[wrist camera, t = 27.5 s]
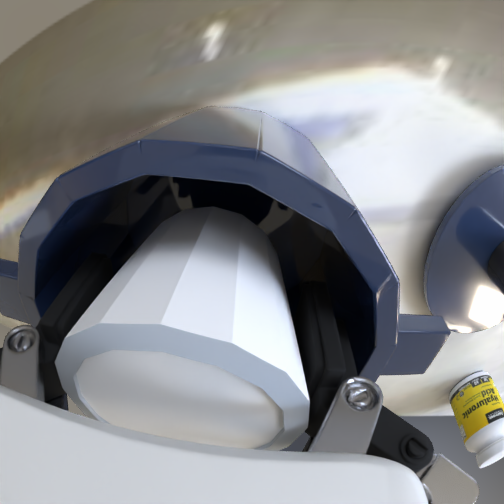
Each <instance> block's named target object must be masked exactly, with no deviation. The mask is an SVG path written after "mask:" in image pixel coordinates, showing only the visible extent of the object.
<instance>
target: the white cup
mask: <svg viewBox="0 0 504 504" xmlns="http://www.w3.org/2000/svg"><path fill="white" fill-rule="evenodd" d="M55 365H56V368H57V372H58V375H59V378H60V381H61V385H62V388H63V389H64V391H65V392H66V393H67V394H68V396H69V397H70V398H71V399H72V400H73V402H74V403H75V404H76V405H77V406H78V408H79V409H80V410H81V411H82V412H83V413H84V414H85V415H86V416H88V417H89V418H91V419H94V420H97V421H101V422H104V423H108V424H111V425H115V426H119V427H122V428H126V429H130V430H134V431H138V432H143V433H147V434H152V435H156V436H161V437H166V438H172V439H177V440H183V441H189V442H195V443H201V444H208V445H216V446H224V447H233V448H243V449H255V450H271V451H279V450H281V449H283V448H286V447H288V446H290V445H291V444H292V443H293V442H294V441H295V440H296V439H297V438H298V437H299V436H300V435H301V434H302V433H303V432H304V431H305V430H306V429H307V428H308V420H309V407H310V400H309V395H308V391H307V386H306V381H305V376H304V371H303V367H302V362H301V357H300V353H299V348H298V343H297V339H296V334H295V330H294V325H293V321H292V316H291V312H290V307H289V303H288V298H287V294H286V289H285V285H284V281H283V276H282V272H281V268H280V263H279V259H278V255H277V252H276V250H275V249H274V247H273V245H272V244H271V242H270V240H269V238H268V237H267V235H266V233H265V231H263V230H262V229H261V228H259V227H258V226H257V225H255V224H254V223H253V222H251V221H250V220H249V219H247V218H246V217H245V216H243V215H242V214H239V213H235V212H232V211H228V210H225V209H221V208H217V207H214V206H212V207H202V208H192V209H184V210H183V211H181V212H179V213H177V214H175V215H174V216H172V217H170V218H168V219H166V220H165V221H163V222H162V223H161V224H160V225H159V226H158V227H157V228H156V229H155V230H154V232H153V233H152V234H151V235H150V236H149V237H148V238H147V239H146V240H145V241H144V243H143V244H142V245H141V246H140V247H139V248H138V249H137V250H136V252H135V253H134V254H133V255H132V256H131V257H130V258H129V260H128V261H127V262H126V263H125V264H124V265H123V267H122V268H121V269H120V270H119V271H118V272H117V274H116V275H115V276H114V277H113V278H112V279H111V281H110V282H109V283H108V284H107V285H106V287H105V288H104V289H103V290H102V292H101V293H100V294H99V295H98V296H97V298H96V299H95V300H94V301H93V303H92V304H91V305H90V306H89V308H88V309H87V310H86V311H85V313H84V314H83V315H82V316H81V318H80V319H79V320H78V322H77V323H76V324H75V325H74V327H73V328H72V329H71V331H70V332H69V333H68V335H67V336H66V337H65V339H64V341H63V343H62V346H61V348H60V350H59V353H58V355H57V358H56V360H55Z"/></svg>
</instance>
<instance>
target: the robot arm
mask: <svg viewBox="0 0 504 504" xmlns="http://www.w3.org/2000/svg"><path fill="white" fill-rule="evenodd" d="M113 277H114V275H113V269H112V262H111V259H109V258H108V257H107V255H106V254H102V253H95V252H92V253H91V254H90V255H89V256H88V257H87V258H86V260H85V261H84V262H83V263H82V265H81V266H80V267H79V268H78V270H77V271H76V272H75V273H74V275H73V276H72V277H71V279H70V280H69V281H68V282H67V284H66V285H65V286H64V288H63V289H62V290H61V292H60V293H59V294H58V296H57V297H56V298H55V300H54V301H53V303H52V304H51V305H50V307H49V308H48V309H47V311H46V312H45V314H44V315H43V317H42V318H41V319H40V321H39V323H38V325H37V326H36V328H35V327H33V326H30V325H21V326H17V327H15V328H13V329H12V330H11V331H10V332H9V333H8V334H7V335H6V337H5V340H4V344H3V348H0V504H475V503H476V501H477V499H478V497H479V486H478V483H477V482H476V480H475V479H474V478H473V477H471V476H470V475H468V474H467V473H466V472H464V471H463V470H462V469H460V468H459V467H458V466H456V465H455V464H453V462H451V461H450V460H449V459H447V458H446V457H445V456H443V455H442V454H441V453H440V454H438V455H436V454H435V453H434V449H433V445H432V442H431V441H430V439H429V438H428V437H427V436H426V435H425V434H423V433H422V432H420V431H419V430H418V429H416V428H415V427H413V426H412V425H410V424H409V423H407V422H406V421H404V420H403V419H402V418H400V417H399V416H397V415H396V414H394V413H393V412H392V411H390V410H389V409H387V408H386V407H384V406H383V405H382V403H383V394H382V391H381V389H380V388H379V386H378V385H377V384H376V383H375V382H374V381H372V380H370V379H368V378H366V377H362V376H358V375H357V370H356V366H355V362H354V358H353V354H352V350H351V346H350V342H349V338H348V334H347V330H346V326H345V323H344V321H343V320H342V319H335V316H334V312H333V308H332V303H331V299H330V295H329V291H328V287H327V284H326V282H321V281H312V280H311V281H310V282H309V284H304V286H303V289H302V293H301V296H300V300H299V304H298V307H297V311H296V315H295V318H294V322H293V325H294V330H295V334H296V339H297V343H298V348H299V353H300V357H301V362H302V367H303V371H304V376H305V381H306V386H307V391H308V395H309V400H310V407H309V420H308V428H307V429H306V430H305V432H306V433H307V434H308V435H310V438H309V440H308V442H307V443H306V445H305V447H304V449H303V451H302V452H289V451H288V452H287V451H271V450H255V449H243V448H233V447H224V446H216V445H208V444H201V443H195V442H189V441H183V440H177V439H172V438H166V437H161V436H156V435H152V434H147V433H143V432H138V431H134V430H130V429H126V428H122V427H119V426H115V425H111V424H108V423H104V422H101V421H97V420H94V419H91V418H87V417H84V416H81V415H78V414H75V413H72V412H69V411H68V401H67V393H66V392H65V391H64V389H63V388H62V385H61V381H60V378H59V375H58V372H57V368H56V365H55V360H56V358H57V355H58V353H59V350H60V348H61V346H62V343H63V341H64V339H65V337H66V336H67V335H68V333H69V332H70V331H71V329H72V328H73V327H74V325H75V324H76V323H77V322H78V320H79V319H80V318H81V316H82V315H83V314H84V313H85V311H86V310H87V309H88V308H89V306H90V305H91V304H92V303H93V301H94V300H95V299H96V298H97V296H98V295H99V294H100V293H101V292H102V290H103V289H104V288H105V287H106V285H107V284H108V283H109V282H110V281H111V279H112V278H113Z"/></svg>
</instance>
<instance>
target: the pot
mask: <svg viewBox="0 0 504 504" xmlns="http://www.w3.org/2000/svg"><path fill="white" fill-rule="evenodd" d="M212 206H214V207H217V208H221V209H225V210H228V211H232V212H235V213H239V214H242V215H243V216H245V217H246V218H247V219H249V220H250V221H251V222H253V223H254V224H255V225H257V226H258V227H259V228H261V229H262V230H263V231H265V233H266V235H267V237H268V238H269V240H270V242H271V244H272V245H273V247H274V249H275V250H276V252H277V255H278V259H279V263H280V268H281V272H282V276H283V281H284V285H285V289H286V294H287V298H288V303H289V307H290V312H291V316H292V321H293V322H294V318H295V315H296V311H297V307H298V304H299V300H300V296H301V293H302V289H303V286H304V284H309V282H310V281H311V280H312V281H321V282H326V284H327V287H328V291H329V295H330V299H331V303H332V308H333V312H334V316H335V319H342V320H343V321H344V323H345V326H346V330H347V334H348V338H349V342H350V346H351V350H352V354H353V358H354V362H355V366H356V370H357V375H358V376H362V377H366V378H368V379H370V380H372V381H374V382H376V380H377V379H378V377H379V375H411V374H423V373H425V371H426V370H427V368H428V367H429V365H430V364H431V363H432V361H433V360H434V358H435V357H436V355H437V354H438V352H439V351H440V349H441V348H442V346H443V345H444V343H445V341H446V340H447V338H448V337H449V335H450V333H451V332H450V330H449V328H448V326H447V324H446V323H445V321H444V319H443V317H442V316H432V315H413V314H399V302H400V283H399V278H398V276H397V275H396V273H395V271H394V269H393V267H392V265H391V264H390V262H389V260H388V258H387V256H386V255H385V253H384V251H383V249H382V248H381V246H380V244H379V242H378V241H377V239H376V237H375V236H374V234H373V232H372V231H371V229H370V227H369V226H368V224H367V222H366V221H365V219H364V217H363V216H362V214H361V213H360V211H359V209H358V208H357V206H356V205H355V203H354V202H353V200H352V199H351V197H350V196H349V194H348V193H347V191H346V190H345V188H344V187H343V186H342V184H341V183H340V181H339V180H338V178H337V177H336V175H335V174H334V173H333V171H332V170H331V168H330V167H329V166H328V164H327V163H326V161H325V160H324V159H323V157H322V156H321V155H320V153H319V152H318V151H317V149H316V148H315V146H314V145H313V144H312V142H311V141H310V140H309V139H308V138H307V137H306V136H304V135H303V134H301V133H299V132H298V131H296V130H294V129H293V128H292V127H290V126H289V125H287V124H286V123H284V122H282V121H280V120H278V119H276V118H274V117H272V116H270V115H268V114H266V113H265V112H262V111H257V110H249V109H243V108H237V107H218V106H209V107H208V106H207V107H204V108H201V109H198V110H195V111H192V112H189V113H186V114H183V115H180V116H177V117H175V118H172V119H169V120H166V121H164V122H161V123H159V124H157V125H155V126H152V127H150V128H148V129H146V130H144V131H141V132H139V133H137V134H135V135H133V136H131V137H129V138H127V139H125V140H123V141H121V142H119V143H117V144H115V145H113V146H111V147H109V148H107V149H105V150H103V151H101V152H99V153H98V154H96V155H94V156H92V157H90V158H88V159H87V160H85V161H83V162H81V163H80V164H78V165H76V166H74V167H73V168H71V169H69V170H67V171H66V172H64V173H62V174H61V175H60V176H59V177H57V178H56V179H55V180H54V182H53V183H52V185H51V186H50V187H49V189H48V190H47V192H46V193H45V195H44V196H43V198H42V199H41V201H40V202H39V204H38V205H37V207H36V209H35V210H34V212H33V213H32V215H31V217H30V218H29V220H28V221H27V223H26V225H25V226H24V228H23V230H22V232H21V235H20V241H19V258H18V262H14V261H9V260H5V259H0V312H1V314H2V315H4V316H7V317H10V318H13V319H16V320H19V321H22V322H25V323H28V324H30V325H31V326H33V327H35V328H36V326H37V325H38V323H39V321H40V319H41V318H42V317H43V315H44V314H45V312H46V311H47V309H48V308H49V307H50V305H51V304H52V303H53V301H54V300H55V298H56V297H57V296H58V294H59V293H60V292H61V290H62V289H63V288H64V286H65V285H66V284H67V282H68V281H69V280H70V279H71V277H72V276H73V275H74V273H75V272H76V271H77V270H78V268H79V267H80V266H81V265H82V263H83V262H84V261H85V260H86V258H87V257H88V256H89V255H90V254H91V253H92V252H95V253H102V254H106V255H107V257H108V258H109V259H111V262H112V269H113V275H114V276H115V275H116V274H117V272H118V271H119V270H120V269H121V268H122V267H123V265H124V264H125V263H126V262H127V261H128V260H129V258H130V257H131V256H132V255H133V254H134V253H135V252H136V250H137V249H138V248H139V247H140V246H141V245H142V244H143V243H144V241H145V240H146V239H147V238H148V237H149V236H150V235H151V234H152V233H153V232H154V230H155V229H156V228H157V227H158V226H159V225H160V224H161V223H162V222H163V221H165V220H166V219H168V218H170V217H172V216H174V215H175V214H177V213H179V212H181V211H183V210H184V209H192V208H202V207H212Z"/></svg>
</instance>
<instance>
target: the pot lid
mask: <svg viewBox="0 0 504 504" xmlns="http://www.w3.org/2000/svg"><path fill="white" fill-rule="evenodd" d="M424 295H425V300H426V303H427V306H428V308H429V310H430V312H431V313H432V315H433V316H442V317H443V319H444V321H445V323H446V324H447V326H448V328H449V330H451V331H454V332H459V333H471V332H477V331H481V330H484V329H487V328H490V327H492V326H494V325H496V324H498V323H500V322H502V321H503V320H504V165H500V166H498V167H495V168H493V169H491V170H489V171H488V172H486V173H484V174H483V175H481V176H480V177H479V178H477V179H476V180H475V181H474V182H473V183H471V184H470V185H469V186H468V187H467V188H466V189H465V190H464V191H463V193H462V194H461V195H460V196H459V197H458V199H457V200H456V201H455V202H454V203H453V205H452V206H451V208H450V209H449V211H448V212H447V214H446V215H445V217H444V219H443V220H442V222H441V224H440V226H439V228H438V230H437V232H436V234H435V236H434V239H433V241H432V244H431V247H430V250H429V252H428V256H427V260H426V264H425V270H424Z"/></svg>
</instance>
